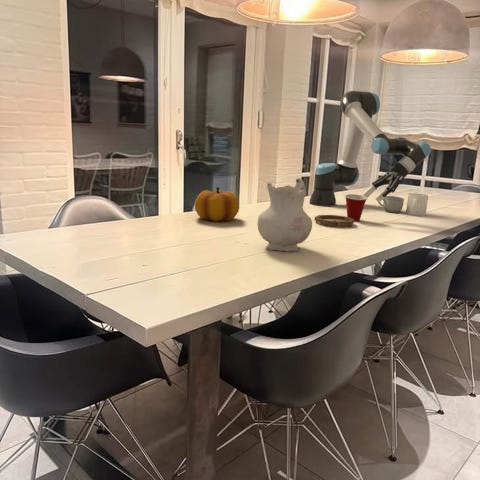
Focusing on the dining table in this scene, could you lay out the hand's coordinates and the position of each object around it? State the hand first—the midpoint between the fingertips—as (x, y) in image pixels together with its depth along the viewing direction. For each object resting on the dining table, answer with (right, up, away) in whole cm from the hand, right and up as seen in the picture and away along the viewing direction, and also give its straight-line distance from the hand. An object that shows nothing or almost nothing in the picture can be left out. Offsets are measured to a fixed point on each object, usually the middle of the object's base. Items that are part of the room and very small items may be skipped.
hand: (370, 198), depth 231 cm
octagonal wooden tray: (-19, -13, -9) cm, 25 cm away
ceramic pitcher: (-47, -23, -57) cm, 77 cm away
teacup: (+19, -5, +34) cm, 39 cm away
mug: (+32, -6, +29) cm, 43 cm away
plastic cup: (-8, -11, +2) cm, 13 cm away
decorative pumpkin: (-74, -11, -11) cm, 75 cm away
